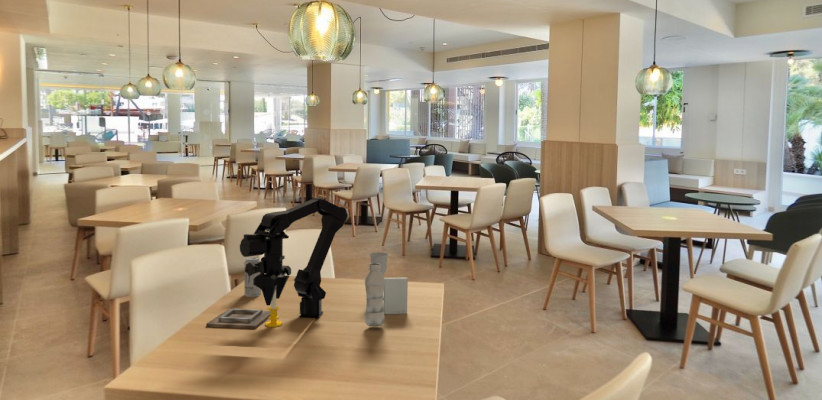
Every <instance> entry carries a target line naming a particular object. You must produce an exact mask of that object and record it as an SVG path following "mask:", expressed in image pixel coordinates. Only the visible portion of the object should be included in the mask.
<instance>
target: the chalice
mask: <svg viewBox="0 0 822 400" xmlns="http://www.w3.org/2000/svg"><path fill="white" fill-rule="evenodd" d="M369 257H370V264H371V263H379V264H381V270H380V272H381V274H382V275H383V277H385V274H386V271H387V269H388V257H389V253H387V252H370V253H369ZM383 301H384V297H383Z"/></svg>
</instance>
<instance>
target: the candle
mask: <svg viewBox="0 0 822 400" xmlns="http://www.w3.org/2000/svg"><path fill="white" fill-rule="evenodd" d="M266 309H267V311H270V317H269V318H268V320H269V321H265V322H264V323H265V327H267V328H278V327H281V326H282V325H283V322H282V321H281V320H279V318H280V316H279V315H278V310H280V309H281V308H280V306H277V299H276V290H275V293H274V296H273V299H272V302H271V304H270V306H269V307H267V308H266Z"/></svg>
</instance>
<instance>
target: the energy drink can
mask: <svg viewBox="0 0 822 400" xmlns="http://www.w3.org/2000/svg"><path fill="white" fill-rule="evenodd" d="M260 261H261V259H260V257H256V256H251V257H245V261H244V264H243V266H244V267H243V268H244V272H243V273H244V275H243V277H244V279H243V281H244V297H247V298H256V297H259V296H261V295H262V290H261V289H260V288H259V287H256V285H253V279H254V278H255V277H256V276H257V275H259V274H260V272H259V273H256V274H252V275H251V276H248V274H247V273H245V267H246V264H247V263H250V262H253V263H257V262H260Z"/></svg>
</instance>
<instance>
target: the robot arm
mask: <svg viewBox="0 0 822 400" xmlns="http://www.w3.org/2000/svg"><path fill="white" fill-rule="evenodd" d="M315 213H317V214H319V215H320V216H321V227H322V228H321V230H320V233H319V235H318V237H317V240H316V243H315V245H314V247H313V250H312V252H311V255H310V257H309V259H308V262H307V265H306V266H305V267H304V268H303V269H300V268H298V270H297V273H296V275H295V278H294V279H293V281H294V283H293V287H294V290H295V292H296V293H297V295H298V297H299V298H301V301H299V314H300V315H299V317H300V318H307V319H308V318H309V319H319V318H320V317H321V316H322V315H323V313H324V311H323V309H322V306H323V305H322V300H324V299H325V298H326V295H327V292H326V291H325V290H324V289H323V288H322V286H321V284H322V275H321V270H322V268H323V266H324V263H325V261H326V258H327V257H328V253H329V250H330V248H331V245H332V243H333V241H334V238H335V236H336V233H337V232H339V230H340V229H342V228H343V226H344V224H345V223H346V222H347V219H348V216H349V215H348V212H347V210H346V208H345V207H343V206H338V205H337V204H334V203H332V202H330V201H328V200H326V199H325V198H322V197H314V198H313V197H312V199H309V200H307V201H305V202H303V203H300V204H298V205H296V206H293V207H291V208H288V209H286V210H281V211H273V212H267V213H265V214H264V215H262V218H261V222H260V223H259V225H258V226H257V228H256V229H255V231H254V232H253V233H251V234H249V233H244V234H243V238H242V239H241V241H240V244H239V252H240V254H241V256H242V257H244V258H250V257H256V256H262V257H261V258H260V262H257V263H253V262H250V263H247V264H246V267H245V273H247V274H248V276H251V275H252V274H256V273H259V272H260V274H259V275H257V276H256V277H255V278H254V279H253V285H256V287H259V288H260V289H261V294H262V295H263V297H264V302H265V305H266V306H269V307H271V302H272V299H273V296H274V293H275V290H276V300H279V299H280V298H281V295H282V293H283V290H284V288H285V287H286V284H287V282H288V280H289V278H290V275H292V268H291V267H290V266H289V265H283V260H285V259H286V258H285V257H286V256H285V255H283V254H284V253H283V252H284V251H283V250H284V249H283V248H284V246H283V245H284V244H283V243H284V240H286V239H289V238H290V237H289V235H288V234H287V233H285V230H287V229H289V227H290V226H291V225H292V224H293V223H295V222H296V221H299V220H301V219H303V218H306V217H308V216H310V215H312V214H315ZM283 239H284V240H283Z"/></svg>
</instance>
